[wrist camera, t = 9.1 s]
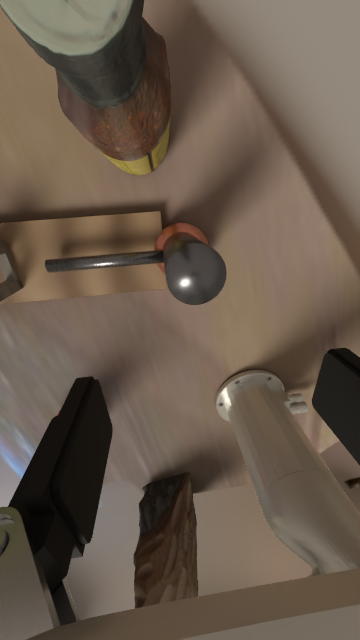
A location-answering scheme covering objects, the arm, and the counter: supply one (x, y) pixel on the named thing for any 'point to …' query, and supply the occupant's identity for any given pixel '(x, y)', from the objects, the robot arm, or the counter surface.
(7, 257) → the board
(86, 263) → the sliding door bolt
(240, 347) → the counter surface
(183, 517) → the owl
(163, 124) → the sauce bottle
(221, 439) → the counter surface
